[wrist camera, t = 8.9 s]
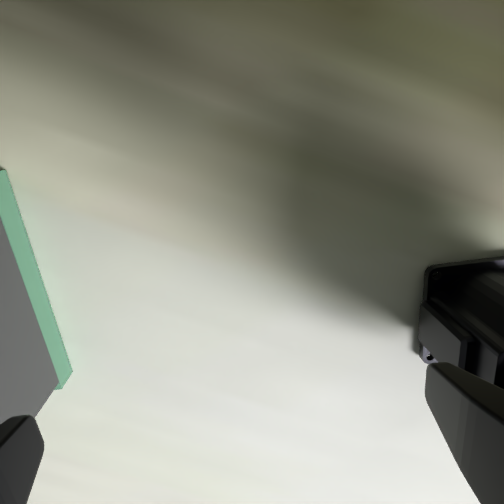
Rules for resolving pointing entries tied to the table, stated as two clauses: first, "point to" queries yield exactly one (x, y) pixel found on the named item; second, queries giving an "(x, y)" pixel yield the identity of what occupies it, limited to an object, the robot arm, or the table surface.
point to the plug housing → (20, 344)
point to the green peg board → (32, 279)
